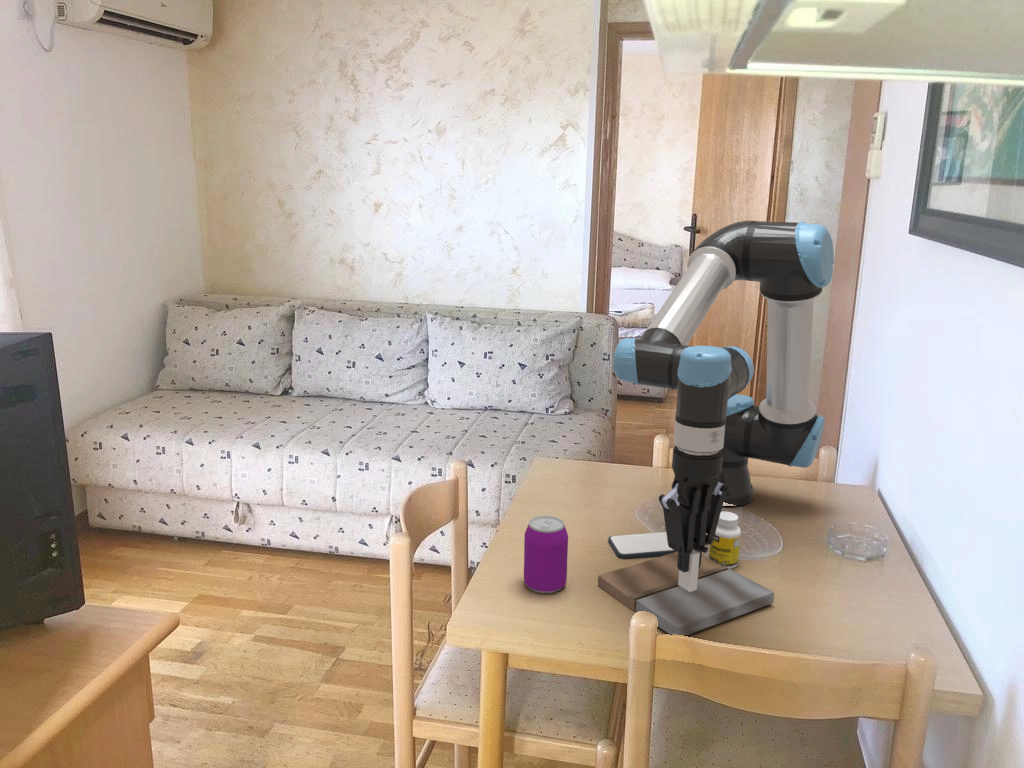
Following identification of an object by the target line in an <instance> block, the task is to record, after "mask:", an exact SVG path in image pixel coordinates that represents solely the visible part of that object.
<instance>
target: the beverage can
mask: <svg viewBox="0 0 1024 768" xmlns="http://www.w3.org/2000/svg"><path fill="white" fill-rule="evenodd" d="M523 539H524V540H523V541H524V542H523V543H524V545H523V547H524V549H523V550H524V551H523V552H524V553H523V580H524V584H525V585H526V586H527V587H528V588H529V589H530V590H531V591H533V592H536V593H539V594H554V593H556V591H557V592H558V591H560V590H561V589H563V588H564V587H565V586H566V584H567V578H568V576H567V575H568V551H569V534H568V531H567V528H566V526H565V523H564V520H563V519H561V518H560V517H557V516H552V515H538V516H535V517H532V518H531V519H530V520H529V522H528V525H527V527H526V529H525V531H524V538H523ZM553 592H554V593H553Z"/></svg>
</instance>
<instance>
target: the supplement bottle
mask: <svg viewBox="0 0 1024 768" xmlns="http://www.w3.org/2000/svg"><path fill="white" fill-rule="evenodd" d="M741 536H742V530H741V528H740V527H739V515H737V514H736V513H735V512H734V513H733V512H730V511H721V513H720V517H719V521H718V525H717V528H716V532H715V536H714V540H713V543H712V544H711V545H709V550H708V551H709V552H708V553H709V555H708V558H709V559H711V560H713V561H714V562H716V563H718V564H720V565H721V566H726V567H728V570H729V569H731V570H733V569H734V568H736V567H737V566H738V565H739V557H740V548H741V547H740V545H741Z"/></svg>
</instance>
